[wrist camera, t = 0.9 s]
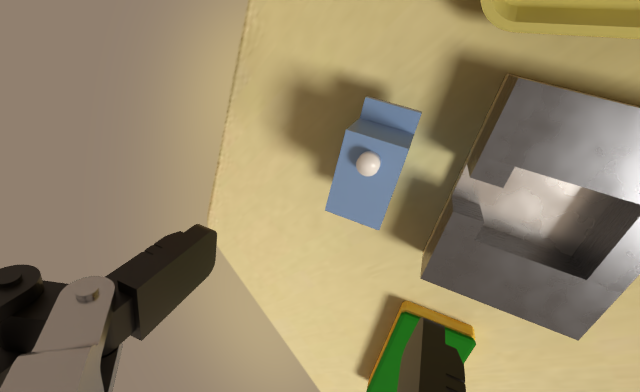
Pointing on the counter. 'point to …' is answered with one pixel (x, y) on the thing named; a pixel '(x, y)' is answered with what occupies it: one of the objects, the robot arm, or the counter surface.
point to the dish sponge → (389, 360)
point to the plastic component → (566, 17)
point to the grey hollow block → (544, 208)
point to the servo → (371, 161)
